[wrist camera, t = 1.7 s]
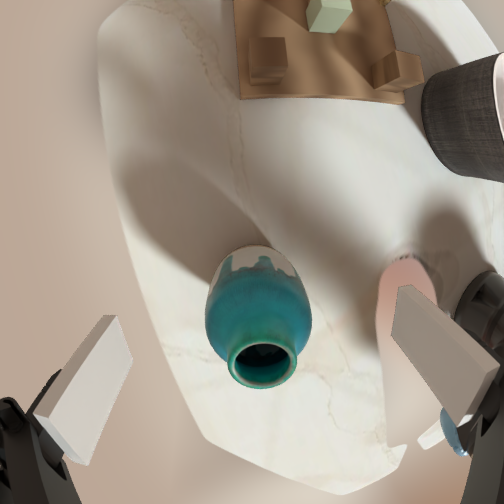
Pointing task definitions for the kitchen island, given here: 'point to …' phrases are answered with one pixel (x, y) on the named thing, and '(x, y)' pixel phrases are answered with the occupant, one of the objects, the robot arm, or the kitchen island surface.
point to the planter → (468, 117)
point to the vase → (258, 316)
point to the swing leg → (327, 15)
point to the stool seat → (320, 54)
